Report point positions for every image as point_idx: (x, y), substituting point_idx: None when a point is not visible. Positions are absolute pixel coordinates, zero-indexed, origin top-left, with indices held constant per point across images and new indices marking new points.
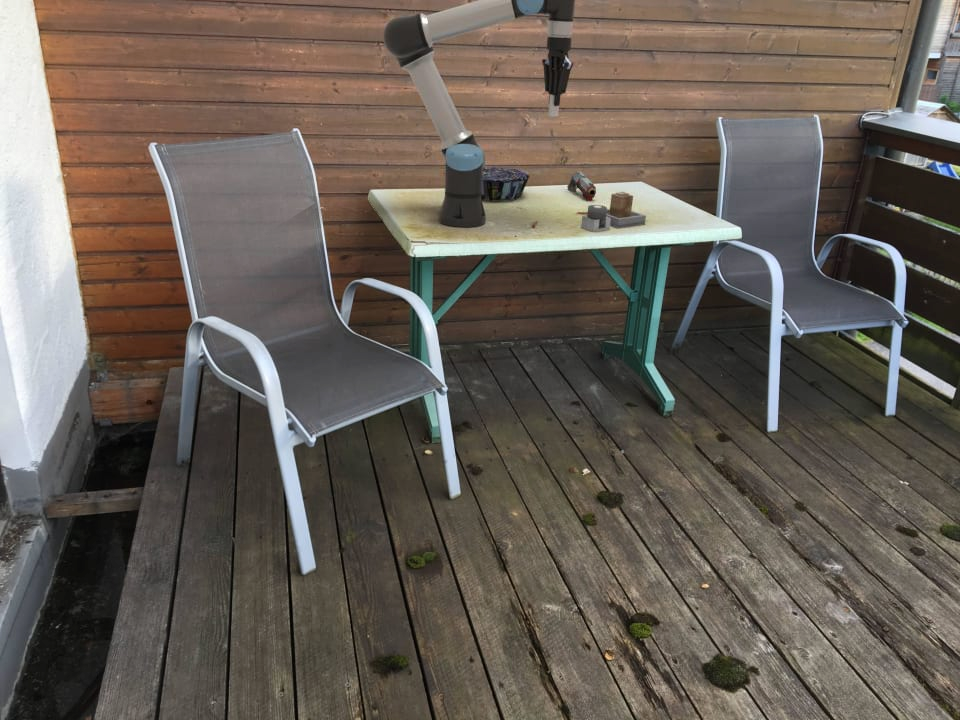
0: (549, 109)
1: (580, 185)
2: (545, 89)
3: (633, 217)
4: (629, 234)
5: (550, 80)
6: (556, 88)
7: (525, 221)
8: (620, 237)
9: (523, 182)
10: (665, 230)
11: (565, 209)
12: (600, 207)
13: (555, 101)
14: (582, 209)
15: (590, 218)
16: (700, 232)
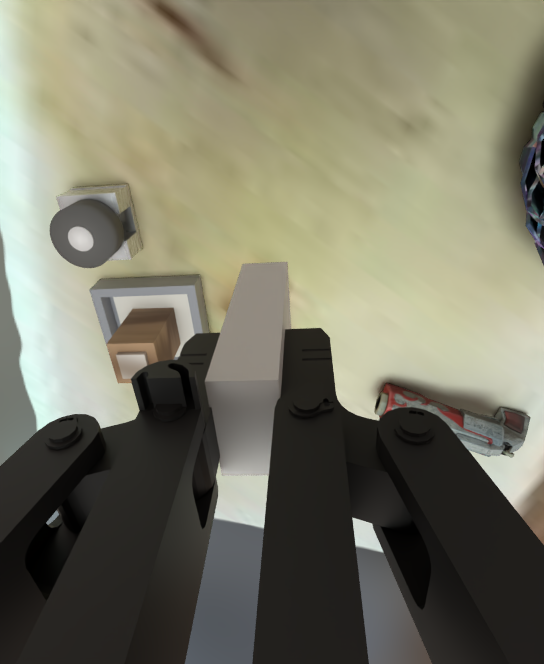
0: (275, 287)
1: (438, 408)
2: (427, 422)
3: (104, 338)
4: (40, 270)
5: (305, 606)
6: (113, 474)
7: (245, 29)
8: (13, 228)
9: (534, 225)
10: (67, 371)
11: (331, 269)
12: (69, 241)
13: (195, 359)
14: (311, 315)
15: (78, 197)
16: (42, 423)
